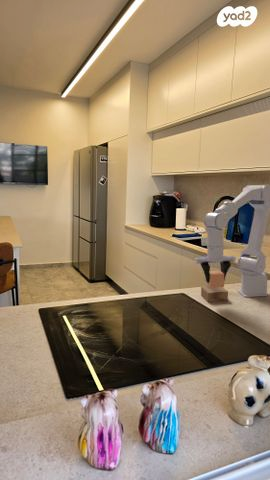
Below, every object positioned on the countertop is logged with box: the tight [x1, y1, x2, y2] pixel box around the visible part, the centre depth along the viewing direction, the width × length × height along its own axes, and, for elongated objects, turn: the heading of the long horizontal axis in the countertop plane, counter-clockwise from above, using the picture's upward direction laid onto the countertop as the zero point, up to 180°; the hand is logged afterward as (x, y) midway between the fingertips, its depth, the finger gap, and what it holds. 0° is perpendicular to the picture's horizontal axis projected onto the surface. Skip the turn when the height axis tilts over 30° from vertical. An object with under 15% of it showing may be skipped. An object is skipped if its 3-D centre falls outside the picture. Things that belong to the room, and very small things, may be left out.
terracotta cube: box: [206, 269, 225, 288], centre depth 122 cm, size 5×5×5 cm
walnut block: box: [200, 285, 229, 303], centre depth 130 cm, size 8×8×4 cm
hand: (215, 281), depth 122 cm, fingers closed on terracotta cube, 5 cm apart
